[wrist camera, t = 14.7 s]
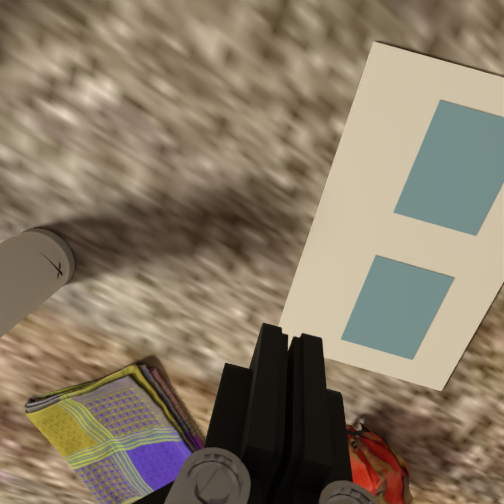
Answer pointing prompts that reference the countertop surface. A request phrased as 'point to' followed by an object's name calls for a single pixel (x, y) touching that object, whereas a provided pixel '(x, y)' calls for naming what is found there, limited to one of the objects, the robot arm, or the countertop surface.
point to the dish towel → (118, 432)
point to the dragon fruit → (378, 466)
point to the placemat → (407, 221)
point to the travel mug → (31, 273)
